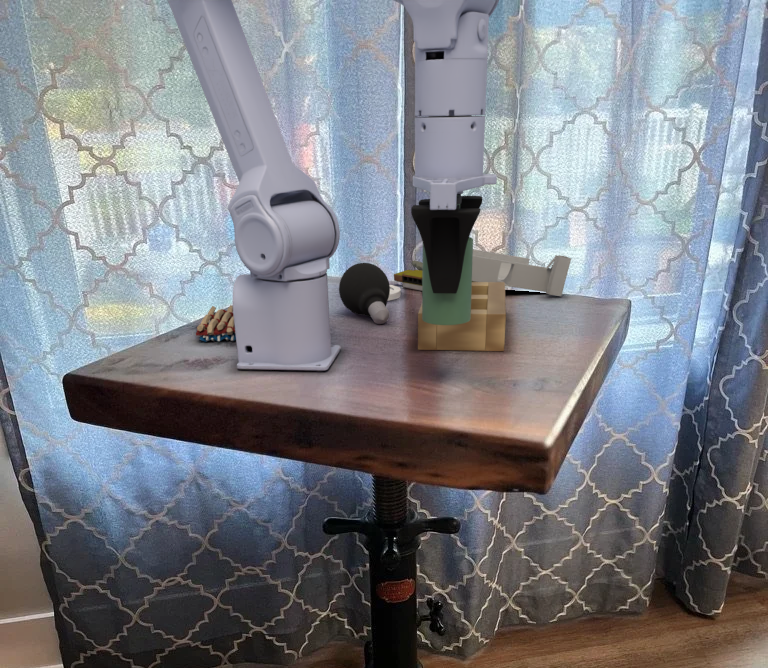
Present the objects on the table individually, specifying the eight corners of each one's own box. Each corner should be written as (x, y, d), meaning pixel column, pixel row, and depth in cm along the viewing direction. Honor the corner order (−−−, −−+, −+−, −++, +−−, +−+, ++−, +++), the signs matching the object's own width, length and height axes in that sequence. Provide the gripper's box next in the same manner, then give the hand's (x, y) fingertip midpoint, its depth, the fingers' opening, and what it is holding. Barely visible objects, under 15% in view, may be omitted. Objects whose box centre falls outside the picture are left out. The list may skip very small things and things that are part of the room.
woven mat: (191, 326, 88) (194, 344, 89) (286, 323, 88) (287, 340, 89) (206, 305, 97) (209, 321, 98) (292, 302, 98) (293, 318, 99)
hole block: (417, 349, 85) (417, 313, 83) (429, 313, 100) (429, 281, 98) (504, 351, 84) (505, 314, 82) (503, 314, 99) (504, 282, 97)
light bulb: (368, 294, 91) (340, 249, 97) (352, 340, 95) (326, 295, 101) (415, 299, 94) (385, 256, 100) (398, 343, 98) (370, 299, 104)
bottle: (420, 325, 70) (420, 198, 65) (424, 313, 74) (425, 193, 69) (469, 325, 69) (473, 198, 64) (471, 313, 73) (475, 193, 68)
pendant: (411, 290, 108) (411, 296, 109) (368, 278, 116) (368, 283, 117) (368, 298, 105) (368, 304, 105) (327, 285, 113) (327, 290, 113)
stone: (436, 286, 114) (467, 285, 116) (437, 272, 113) (468, 271, 115) (406, 270, 125) (435, 270, 126) (406, 257, 124) (436, 257, 125)
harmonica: (408, 267, 116) (409, 281, 117) (393, 272, 115) (394, 286, 116) (480, 279, 106) (480, 294, 107) (464, 285, 105) (465, 299, 106)
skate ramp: (521, 279, 118) (530, 244, 116) (561, 296, 106) (571, 258, 104) (429, 265, 113) (436, 228, 111) (460, 281, 102) (468, 241, 100)
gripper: (499, 117, 57) (490, 305, 63) (499, 114, 69) (492, 271, 76) (402, 119, 58) (403, 304, 64) (420, 115, 70) (420, 271, 77)
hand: (446, 286), depth 70 cm, fingers closed on bottle, 4 cm apart
